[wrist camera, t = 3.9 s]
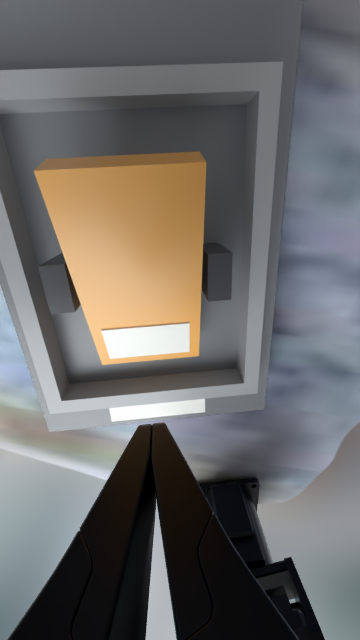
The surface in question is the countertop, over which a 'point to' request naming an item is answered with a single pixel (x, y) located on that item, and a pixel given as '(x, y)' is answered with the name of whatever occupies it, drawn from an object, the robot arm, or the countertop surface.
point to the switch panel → (148, 138)
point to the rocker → (132, 248)
